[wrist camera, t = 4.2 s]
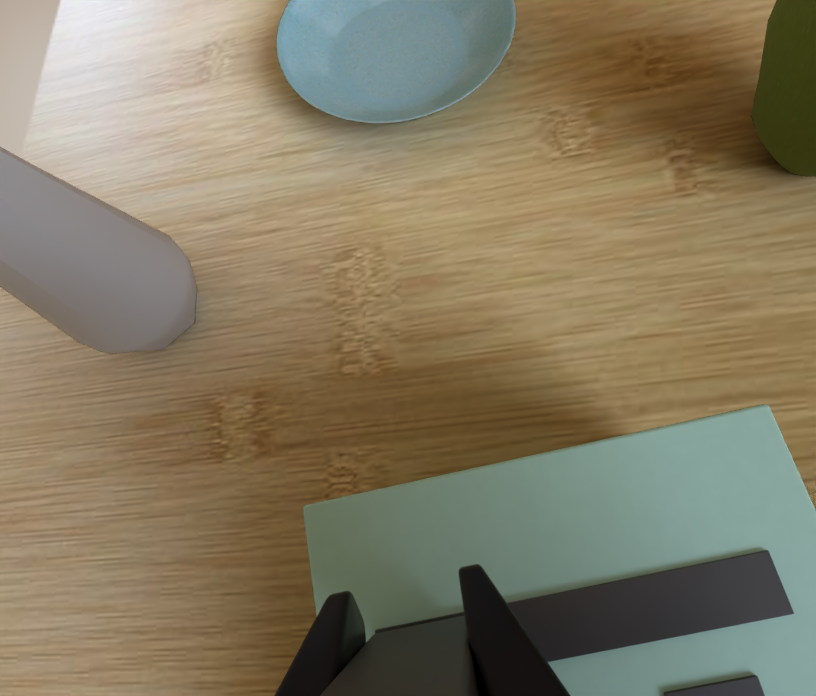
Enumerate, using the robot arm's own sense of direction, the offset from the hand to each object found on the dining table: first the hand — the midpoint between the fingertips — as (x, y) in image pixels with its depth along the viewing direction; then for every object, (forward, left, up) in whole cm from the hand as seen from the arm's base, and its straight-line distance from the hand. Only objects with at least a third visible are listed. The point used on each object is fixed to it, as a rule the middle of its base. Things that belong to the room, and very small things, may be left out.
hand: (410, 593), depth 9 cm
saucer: (+24, -3, -11) cm, 27 cm away
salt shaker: (+13, +11, -11) cm, 20 cm away
